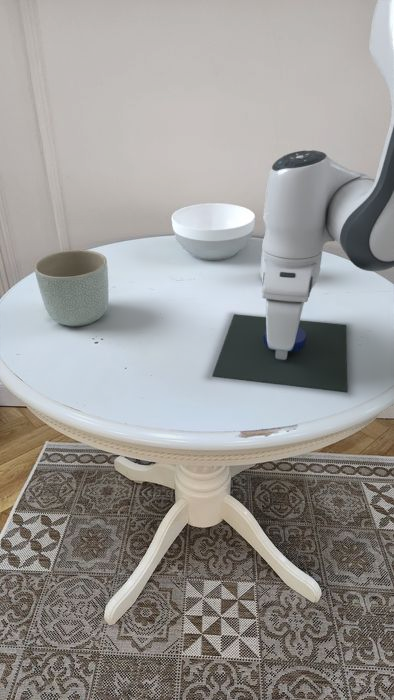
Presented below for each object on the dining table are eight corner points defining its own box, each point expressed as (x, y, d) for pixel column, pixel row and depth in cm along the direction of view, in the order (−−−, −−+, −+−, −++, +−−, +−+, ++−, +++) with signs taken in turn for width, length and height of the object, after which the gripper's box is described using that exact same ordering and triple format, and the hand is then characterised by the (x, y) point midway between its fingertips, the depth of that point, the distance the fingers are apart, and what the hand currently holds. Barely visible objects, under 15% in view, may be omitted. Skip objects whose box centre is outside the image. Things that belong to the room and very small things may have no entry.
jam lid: (260, 350, 85) (261, 341, 84) (266, 329, 90) (267, 321, 90) (302, 355, 84) (304, 346, 83) (306, 334, 89) (307, 325, 88)
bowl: (172, 269, 117) (170, 231, 112) (173, 238, 132) (172, 203, 128) (258, 267, 117) (259, 229, 112) (249, 237, 133) (250, 202, 128)
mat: (345, 327, 94) (346, 324, 94) (346, 393, 77) (347, 391, 77) (234, 316, 98) (234, 314, 98) (212, 377, 81) (212, 375, 81)
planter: (30, 322, 97) (19, 267, 91) (79, 296, 106) (71, 244, 100) (78, 341, 91) (69, 283, 85) (126, 312, 100) (121, 258, 94)
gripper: (276, 240, 89) (271, 313, 96) (260, 293, 72) (256, 376, 80) (314, 242, 88) (306, 316, 95) (307, 297, 71) (298, 381, 78)
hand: (283, 344), depth 87 cm, fingers closed on jam lid, 6 cm apart
